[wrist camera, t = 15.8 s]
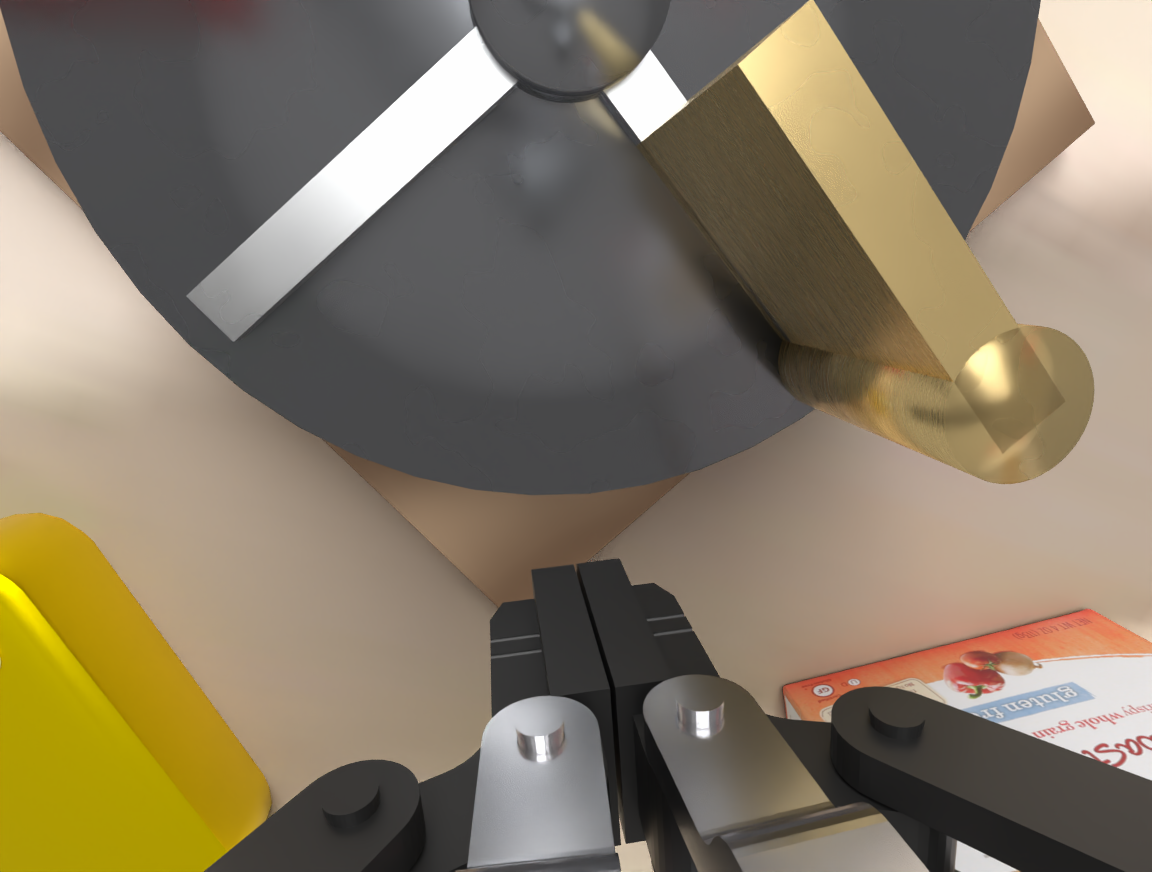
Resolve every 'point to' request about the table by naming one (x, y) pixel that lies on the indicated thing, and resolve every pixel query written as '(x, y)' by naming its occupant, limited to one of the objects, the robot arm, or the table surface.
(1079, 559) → the table surface
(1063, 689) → the cracker box
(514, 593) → the winch base
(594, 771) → the robot arm
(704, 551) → the table surface
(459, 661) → the table surface
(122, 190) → the handwheel
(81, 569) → the element tile
